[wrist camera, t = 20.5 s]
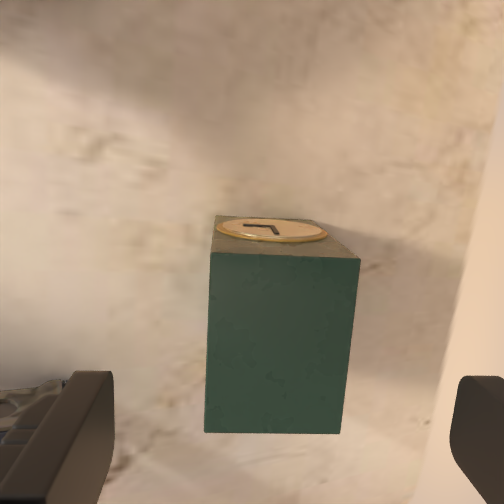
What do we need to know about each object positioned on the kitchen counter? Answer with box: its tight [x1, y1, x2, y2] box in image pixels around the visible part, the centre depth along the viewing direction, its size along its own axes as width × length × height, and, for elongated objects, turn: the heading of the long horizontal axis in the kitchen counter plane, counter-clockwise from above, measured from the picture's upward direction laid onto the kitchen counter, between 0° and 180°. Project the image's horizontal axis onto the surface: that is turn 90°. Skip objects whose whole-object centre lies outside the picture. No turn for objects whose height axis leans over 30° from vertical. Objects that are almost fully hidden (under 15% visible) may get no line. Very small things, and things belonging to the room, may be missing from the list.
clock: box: [204, 216, 361, 434], centre depth 23 cm, size 10×6×8 cm
